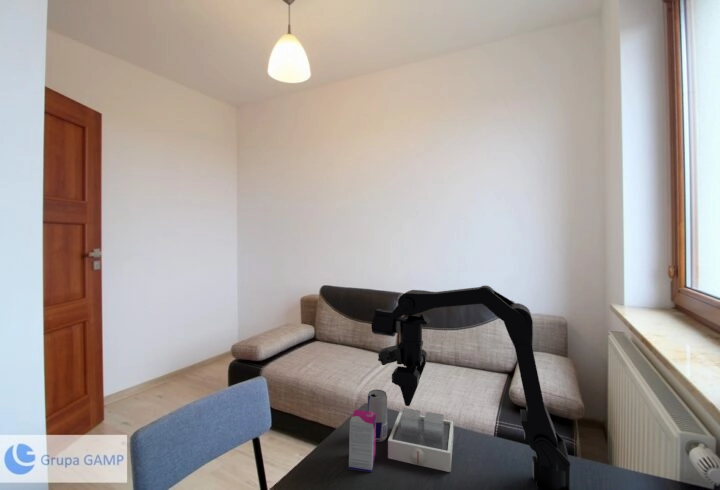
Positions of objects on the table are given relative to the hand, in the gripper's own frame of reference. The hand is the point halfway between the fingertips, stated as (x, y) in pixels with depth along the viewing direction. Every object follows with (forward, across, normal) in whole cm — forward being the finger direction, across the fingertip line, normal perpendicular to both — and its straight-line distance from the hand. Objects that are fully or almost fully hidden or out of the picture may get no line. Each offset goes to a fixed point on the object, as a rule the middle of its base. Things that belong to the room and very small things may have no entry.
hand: (410, 397), depth 85 cm
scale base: (+13, 0, +3) cm, 13 cm away
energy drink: (+13, 0, -9) cm, 16 cm away
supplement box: (+13, +10, -10) cm, 19 cm away
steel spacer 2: (+9, 0, +6) cm, 11 cm away
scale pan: (+10, 0, +3) cm, 10 cm away
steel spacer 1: (+9, 0, 0) cm, 9 cm away
